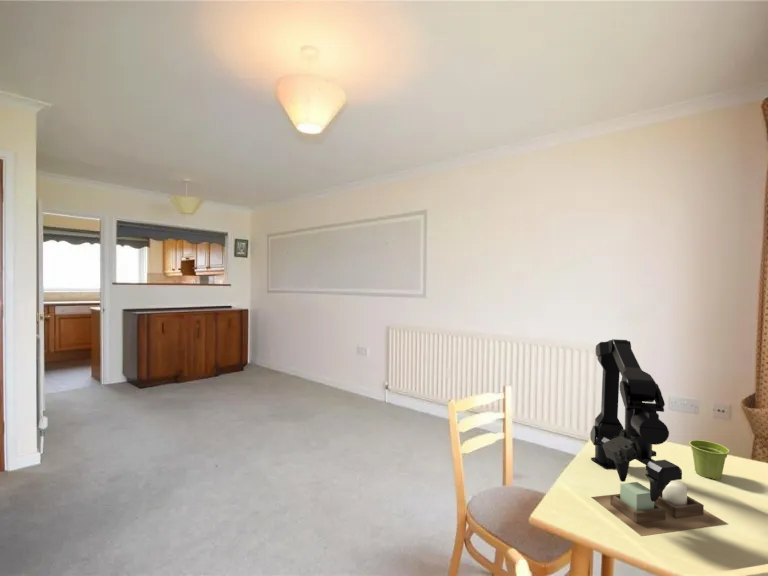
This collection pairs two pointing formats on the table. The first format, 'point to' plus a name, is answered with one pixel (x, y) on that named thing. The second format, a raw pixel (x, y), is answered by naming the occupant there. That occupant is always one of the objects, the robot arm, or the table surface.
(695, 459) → the plant pot
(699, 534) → the table surface
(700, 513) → the socket board
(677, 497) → the cream cylinder
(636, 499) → the sage block
